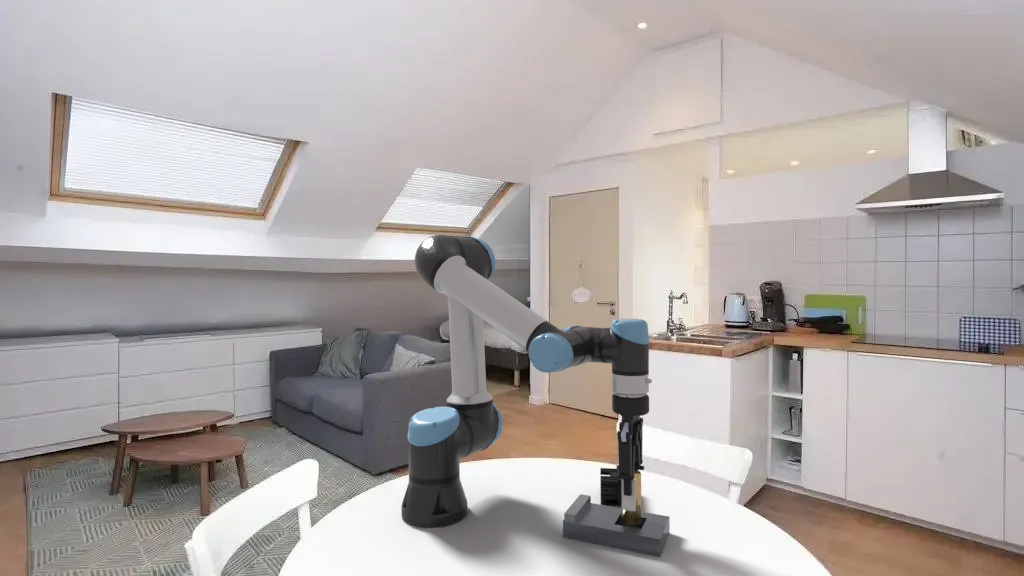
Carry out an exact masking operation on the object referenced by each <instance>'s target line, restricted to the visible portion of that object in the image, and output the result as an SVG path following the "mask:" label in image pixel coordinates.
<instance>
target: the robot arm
mask: <svg viewBox="0 0 1024 576" xmlns="http://www.w3.org/2000/svg"><path fill="white" fill-rule="evenodd" d="M414 266H415V270H416V273H417V274H418V275H419V277H420V278H421V279H422V280H423V282H425V283H426V284H427V286H429V287H430V288H432V289H433V290H434V291H436V292H438V293H439V294H444V295H445V296H446V297H447V304H448V305H447V306H448V322H449V323H448V324H449V325H448V326H449V348H450V349H449V350H450V351H449V352H450V370H451V372H450V373H451V393H450V395H449V396H448V397H447V398H446V406H435V407H433V408H432V407H429V408H425V409H422V410H420V411H418V412H416V413H415V414H413V415H412V416H411V417H410V420H409V421H408V431H407V445H408V446H407V447H408V448H407V451H408V452H407V453H408V456H407V457H408V483H407V487H406V490H405V493H404V497H403V500H402V503H401V518H402V520H403V521H404V523H405V522H406V523H407V524H409V525H412V526H415V527H421V528H440V527H444V526H445V527H446V526H449V525H452V524H454V523H457V522H459V521H461V520H463V519H464V518H465V517H466V516H467V514H468V499H467V496H466V493H465V491H464V487H463V485H462V481H461V477H460V476H461V474H460V472H461V471H460V467H461V466H460V460H462V459H464V458H467V457H469V456H471V455H473V454H476V453H478V452H482V451H484V450H487V449H488V448H489V447H490V446H492V445H494V444H495V443H496V442H497V441H498V440H499V438H500V437H501V433H502V431H503V425H504V424H503V415H502V413H501V410H499V408H498V406H497V405H496V403H494V402H493V401H494V397H493V396H492V394H490V393H489V392H488V391H487V378H486V377H487V376H486V375H487V374H486V372H487V371H486V353H485V352H486V351H485V333H484V332H485V331H484V330H485V329H484V328H485V327H484V322H486V323H487V324H489V325H490V326H492V327H493V328H494V329H496V330H497V331H498V332H499V333H501V334H503V335H504V336H505V337H506V338H508V339H509V340H511V341H512V342H514V343H515V344H516V345H517V346H519V347H520V348H521V349H523V350H524V351H526V352H527V353H528V358H529V361H530V362H531V364H532V366H533V367H534V368H535V369H536V370H537V371H539V372H541V373H545V374H548V373H557V372H563V371H565V370H566V369H569V368H572V367H577V366H580V365H582V364H586V363H602V364H611V391H612V395H611V404H612V405H611V409H612V412H614V413H615V414H617V415H620V416H621V421H619V424H618V431H617V433H616V435H617V447H618V448H617V449H618V451H617V452H618V453H617V454H618V465H619V475H617V478H620V479H622V505H621V508H622V509H623V510H629V511H636V478H634V470H635V471H638V472H640V473H641V471H644V470H645V466H644V465H642V464H643V425H644V417H641V416H645V415H647V414H649V412H650V396H649V395H648V393H649V391H650V390H649V389H650V387H649V385H650V384H652V383H653V380H652V378H649V375H650V374H649V372H650V367H649V366H650V365H649V364H650V362H649V361H650V354H649V353H650V338H649V326H648V322H647V321H646V320H644V319H642V318H616V319H613V320H612V321H611V325H610V327H595V326H594V327H593V326H581V325H573V326H571V325H568V326H563V328H561V329H559V328H558V327H557V326H555V325H554V324H552V323H551V322H550V321H548V320H547V319H545V318H544V317H542V316H541V315H540V314H538V313H537V312H535V311H534V310H532V309H531V308H529V307H528V306H526V305H525V304H523V303H522V302H520V301H519V300H517V299H516V298H514V297H513V296H511V295H510V294H509V293H508V292H506V291H505V290H504V289H502V288H501V287H498V286H497V285H496V284H495V283H493V282H491V281H490V279H491V277H492V275H493V274H494V273H495V270H496V257H495V253H494V250H493V249H492V247H491V246H490V245H489V244H488V243H487V242H486V241H484V240H483V239H482V238H477V237H474V236H463V235H448V234H434V235H431V236H428V237H427V238H426V239H424V240H423V241H422V242H421V243H420V244H419V246H418V247H417V249H416V252H415V256H414Z"/></svg>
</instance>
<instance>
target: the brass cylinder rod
mask: <svg viewBox="0 0 1024 576" xmlns="http://www.w3.org/2000/svg"><path fill="white" fill-rule="evenodd" d="M638 471H639V470H638ZM638 471H635V470H634V478H636V511H629V510H623V509H622V522H623V523H625V524H627V525H639V524H641V512H642V473H641V471H640V472H638Z"/></svg>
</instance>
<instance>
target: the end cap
mask: <svg viewBox="0 0 1024 576" xmlns="http://www.w3.org/2000/svg"><path fill="white" fill-rule="evenodd" d="M617 475H619V464H618V465H616V468H608V467H605V468H604V467H600V475H599V476H600V479H599V481H600V484H599V485H600V505H606V506H611V507H622V479H620V478H617Z"/></svg>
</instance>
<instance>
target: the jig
mask: <svg viewBox="0 0 1024 576" xmlns="http://www.w3.org/2000/svg"><path fill="white" fill-rule="evenodd" d="M591 500H592V498H591V495H586V494H582V493H581V494H578V496H577V498H576V499H575V500H573V503H572V504H570V505H569V507H568V508H567V509H566V511H565V512H564V513H563V515H564V516H563V517H564V518H563V520H562V538H564V539H570V540H575V541H580V542H585V543H590V544H595V545H600V546H604V547H610V548H614V549H619V550H624V551H629V552H634V553H639V554H642V555H647V556H648V555H650V556H654V557H658V558H661V556H662V553H663V551H664V548H665V546H666V543H667V541H668V538H669V535H670V516H669V515H662V514H657V513H650V512H644V511H641V524H639V525H627V524H625V523H623V522H622V507H618V506H606V505H601V503H600V504H599V503H592V502H591Z"/></svg>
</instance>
